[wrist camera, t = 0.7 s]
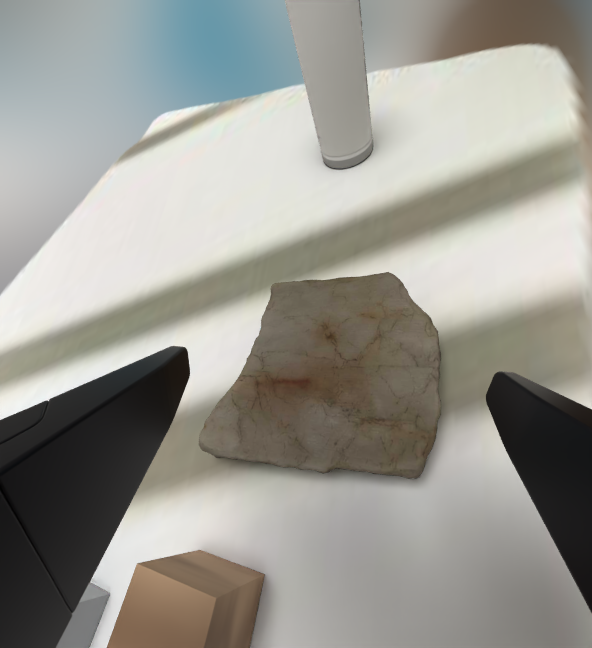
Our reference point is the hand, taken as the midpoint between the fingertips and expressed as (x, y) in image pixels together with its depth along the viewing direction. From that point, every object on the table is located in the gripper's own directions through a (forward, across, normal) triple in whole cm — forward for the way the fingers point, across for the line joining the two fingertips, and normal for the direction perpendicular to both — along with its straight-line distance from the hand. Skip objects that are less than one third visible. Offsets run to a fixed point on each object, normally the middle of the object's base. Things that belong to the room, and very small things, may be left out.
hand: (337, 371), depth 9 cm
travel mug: (+37, -3, -8) cm, 37 cm away
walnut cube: (+1, +5, +20) cm, 20 cm away
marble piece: (+13, -1, +10) cm, 16 cm away
